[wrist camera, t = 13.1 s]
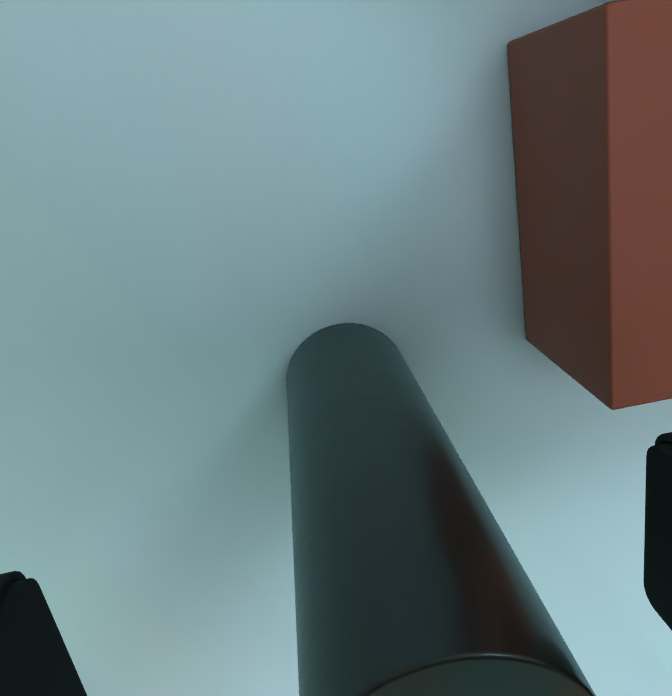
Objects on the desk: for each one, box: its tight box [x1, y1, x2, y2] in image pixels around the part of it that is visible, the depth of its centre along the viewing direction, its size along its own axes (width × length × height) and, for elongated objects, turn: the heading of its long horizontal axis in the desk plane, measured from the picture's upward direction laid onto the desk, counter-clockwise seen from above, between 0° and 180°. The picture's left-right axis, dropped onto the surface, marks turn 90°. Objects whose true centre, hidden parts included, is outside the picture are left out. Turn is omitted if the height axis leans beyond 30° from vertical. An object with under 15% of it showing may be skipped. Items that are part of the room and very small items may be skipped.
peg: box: [286, 323, 596, 696], centre depth 13 cm, size 4×4×12 cm
